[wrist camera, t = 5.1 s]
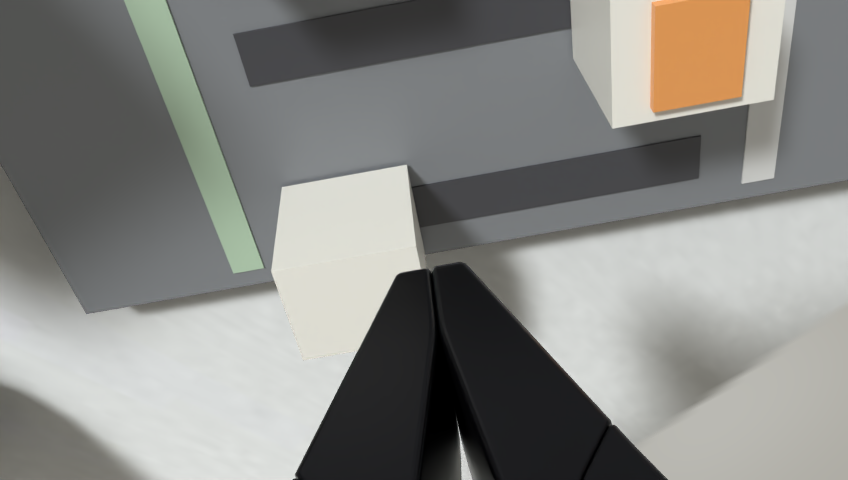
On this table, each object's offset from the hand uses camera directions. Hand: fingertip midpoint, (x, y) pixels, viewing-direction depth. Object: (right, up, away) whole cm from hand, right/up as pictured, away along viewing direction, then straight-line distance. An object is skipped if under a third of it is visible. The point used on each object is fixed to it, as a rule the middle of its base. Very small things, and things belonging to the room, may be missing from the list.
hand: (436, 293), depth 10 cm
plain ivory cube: (-2, +1, +10) cm, 10 cm away
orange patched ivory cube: (+4, +6, +7) cm, 10 cm away
